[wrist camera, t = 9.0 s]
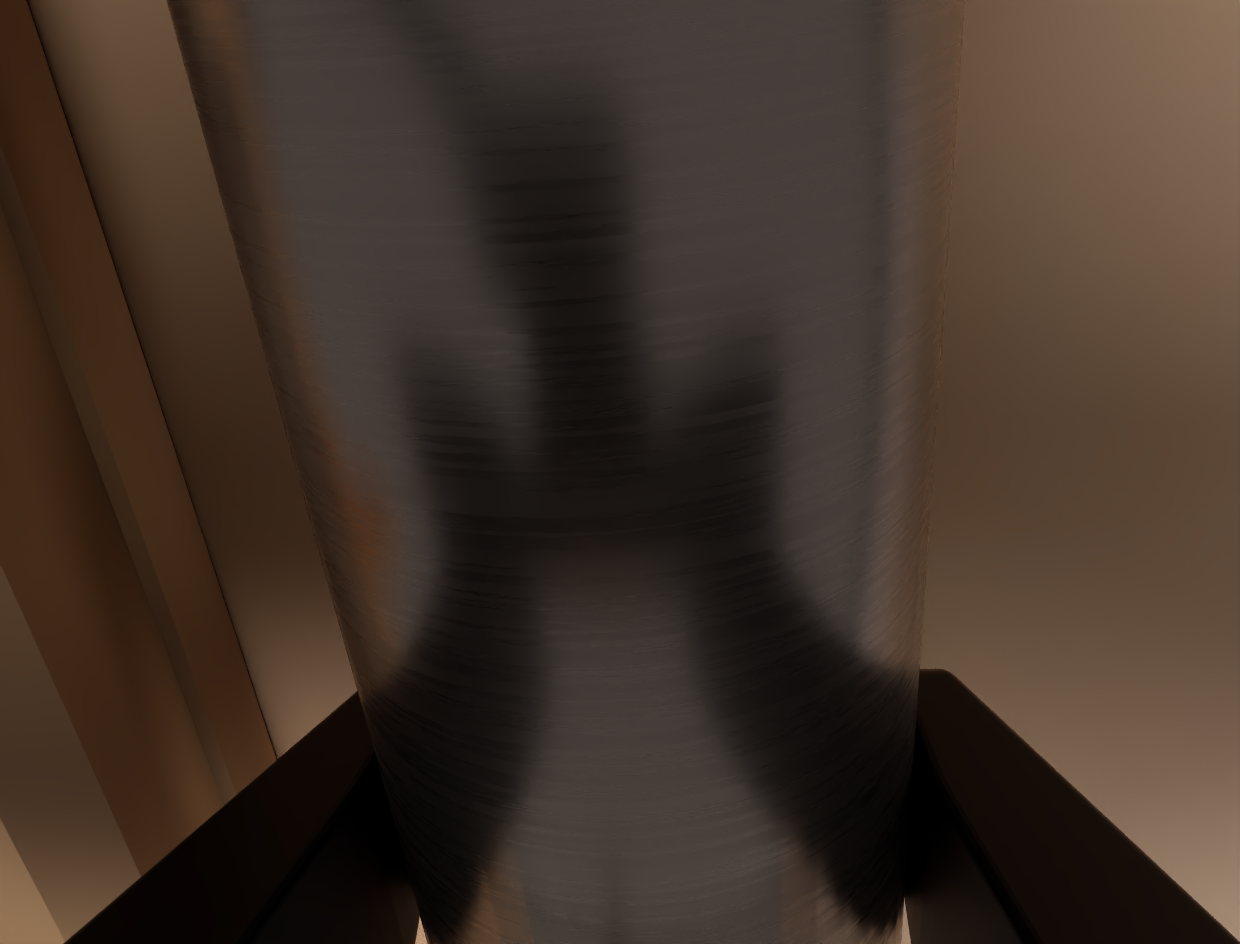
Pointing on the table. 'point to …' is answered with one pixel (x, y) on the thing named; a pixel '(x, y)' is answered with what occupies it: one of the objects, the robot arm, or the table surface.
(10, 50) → the rail
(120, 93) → the table surface
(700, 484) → the rod
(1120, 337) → the table surface
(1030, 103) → the table surface
